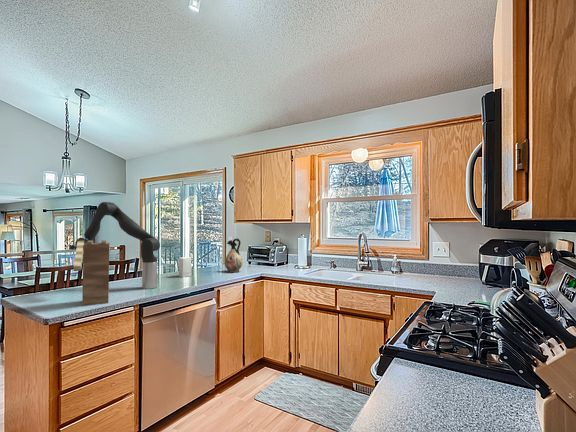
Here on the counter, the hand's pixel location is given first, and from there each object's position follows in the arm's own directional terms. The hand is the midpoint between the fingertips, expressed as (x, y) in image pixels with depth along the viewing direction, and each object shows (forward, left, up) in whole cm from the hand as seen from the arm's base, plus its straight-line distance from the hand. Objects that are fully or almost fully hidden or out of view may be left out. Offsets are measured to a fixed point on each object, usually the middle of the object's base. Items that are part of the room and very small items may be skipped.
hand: (79, 248), depth 200 cm
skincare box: (-70, -34, -28) cm, 83 cm away
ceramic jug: (-114, -40, -28) cm, 124 cm away
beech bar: (0, +3, -6) cm, 6 cm away
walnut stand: (-10, +29, -28) cm, 41 cm away
